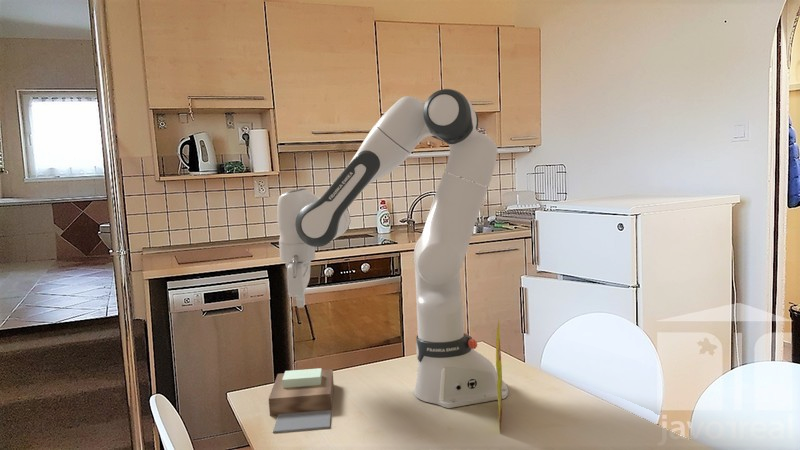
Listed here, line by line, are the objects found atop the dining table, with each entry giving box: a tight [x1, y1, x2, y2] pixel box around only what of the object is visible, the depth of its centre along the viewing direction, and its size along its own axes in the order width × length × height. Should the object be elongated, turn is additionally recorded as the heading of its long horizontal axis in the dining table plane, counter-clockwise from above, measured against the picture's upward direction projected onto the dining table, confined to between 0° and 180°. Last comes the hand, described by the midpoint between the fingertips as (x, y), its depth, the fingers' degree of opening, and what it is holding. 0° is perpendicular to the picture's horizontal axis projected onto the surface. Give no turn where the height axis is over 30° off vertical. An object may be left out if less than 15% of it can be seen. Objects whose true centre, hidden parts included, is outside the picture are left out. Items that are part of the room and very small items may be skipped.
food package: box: [495, 319, 503, 431], centre depth 122 cm, size 15×1×20 cm, turn 168°
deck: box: [268, 369, 335, 417], centre depth 139 cm, size 14×16×4 cm
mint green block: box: [282, 367, 323, 388], centre depth 139 cm, size 9×6×2 cm, turn 95°
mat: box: [272, 409, 332, 434], centre depth 126 cm, size 12×8×1 cm
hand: (301, 306), depth 146 cm, fingers closed
